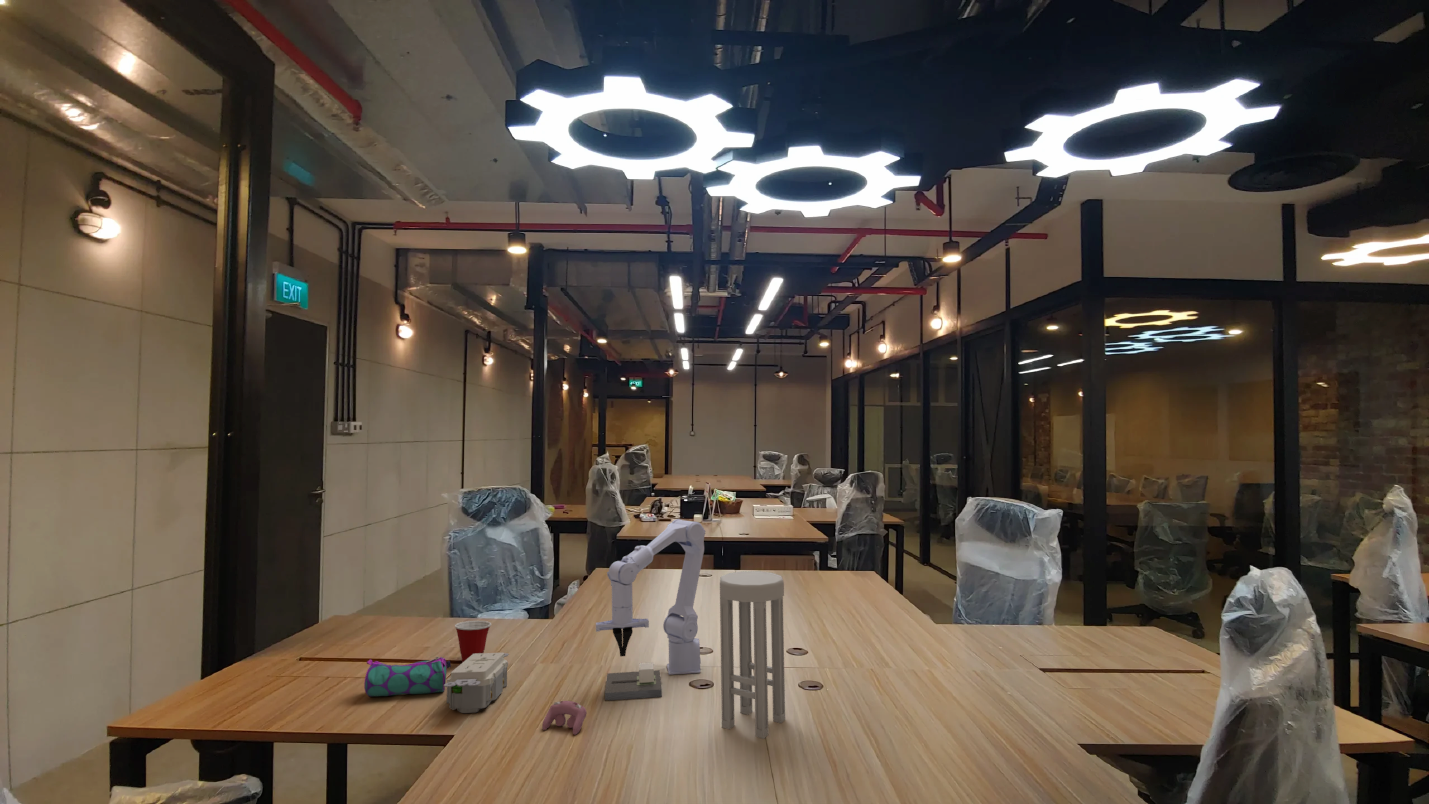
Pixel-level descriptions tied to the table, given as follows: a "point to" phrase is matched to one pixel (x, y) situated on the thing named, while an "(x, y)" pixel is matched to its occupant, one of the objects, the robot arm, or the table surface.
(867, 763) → the table surface
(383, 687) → the pencil case
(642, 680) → the lever
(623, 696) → the breaker panel
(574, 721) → the video game controller
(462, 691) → the electrical outlet
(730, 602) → the stool
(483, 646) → the plastic cup
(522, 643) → the table surface
